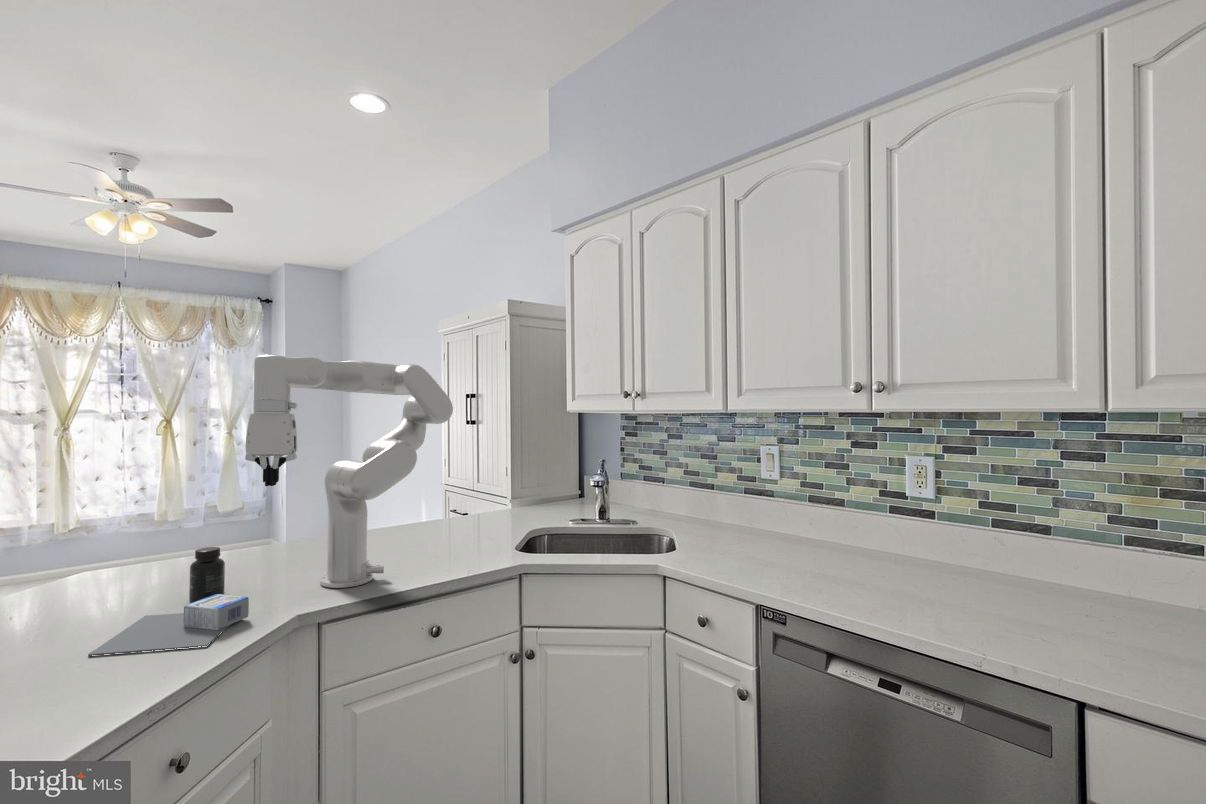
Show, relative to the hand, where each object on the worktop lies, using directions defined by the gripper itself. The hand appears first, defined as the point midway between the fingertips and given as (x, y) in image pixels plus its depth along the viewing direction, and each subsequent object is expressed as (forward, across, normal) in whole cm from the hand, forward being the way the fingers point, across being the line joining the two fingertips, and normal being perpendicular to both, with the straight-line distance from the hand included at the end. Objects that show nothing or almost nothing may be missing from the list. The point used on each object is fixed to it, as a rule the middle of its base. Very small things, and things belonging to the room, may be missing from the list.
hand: (270, 485), depth 138 cm
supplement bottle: (+27, +14, -3) cm, 31 cm away
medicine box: (+24, +2, +16) cm, 29 cm away
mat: (+27, +12, +17) cm, 34 cm away
